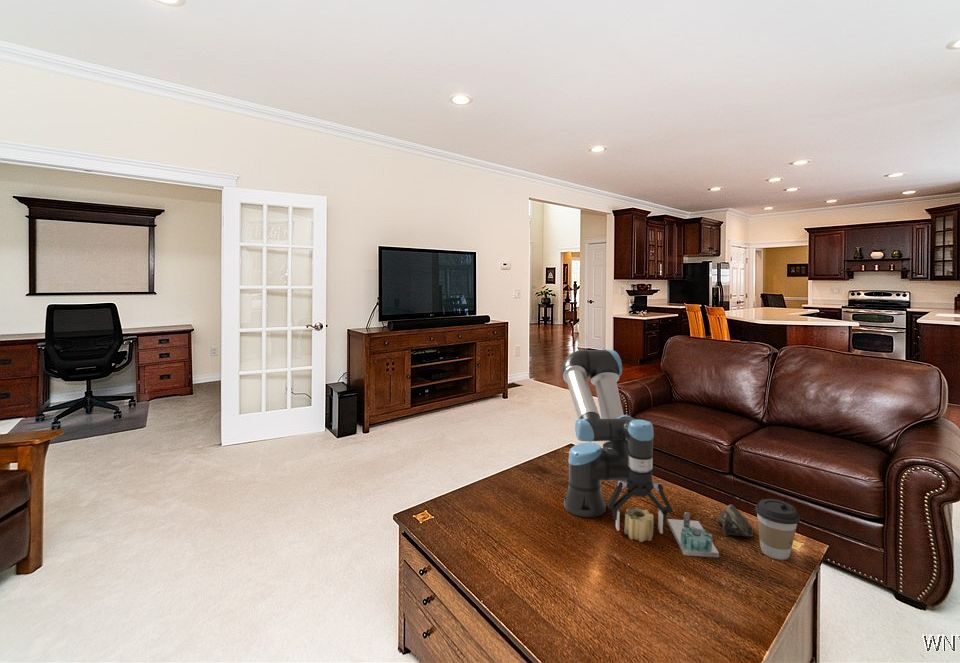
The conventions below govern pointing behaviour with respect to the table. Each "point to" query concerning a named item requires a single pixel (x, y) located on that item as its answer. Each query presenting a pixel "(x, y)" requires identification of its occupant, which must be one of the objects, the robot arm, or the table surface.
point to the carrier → (692, 537)
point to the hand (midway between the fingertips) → (638, 529)
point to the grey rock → (734, 523)
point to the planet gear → (639, 524)
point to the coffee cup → (776, 527)
